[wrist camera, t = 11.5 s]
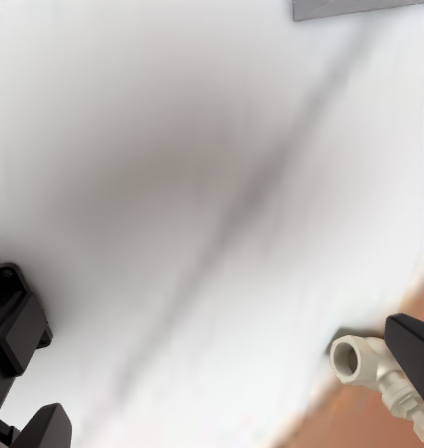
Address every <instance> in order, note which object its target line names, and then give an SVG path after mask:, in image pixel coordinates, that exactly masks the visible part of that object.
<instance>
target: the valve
mask: <svg viewBox="0 0 424 448" xmlns="http://www.w3.org/2000/svg"><path fill="white" fill-rule="evenodd" d="M330 365H331V368H332V370H333V371H334V373H335V374H336V376H337V377H338V379H339V380H340V381H341V382H342V383H343V384H348V385H356V386H359V385H362V386H364V387H365V388H368V389H370V390H372V391H376V392H380V393H381V394H382V402H383V404H384V405H385V406H386V407H387V409H388V410H389V411H390V413H391V414H392V415H393V416H395V417H399V418H400V417H403V418H404V419H405V420H409V421H413V422H414V427H413V430H414V432H415V433H416V434H417V435H418V437H419V438H420V439H421V441H422V442H423V443H424V401H423V399H422V398H421V397H420V395H419V394H418V392H417V391H416V389H415V388H414V386H413V385H412V383H411V382H410V380H409V379H408V377H407V376H406V374H405V373H404V371H403V370H402V368H401V367H400V365H399V364H398V362H397V361H396V359H395V358H394V356H393V355H392V353H391V352H390V350H389V349H388V347H387V346H386V344H385V341H384V340H383V339H380V338H375V337H365V338H363V337H357V336H352V335H347V336H344V337H341V338H338V339H336V340H335V341H333V343H332V347H331V351H330Z"/></svg>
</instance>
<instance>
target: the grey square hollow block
mask: <svg viewBox="0 0 424 448" xmlns="http://www.w3.org/2000/svg"><path fill="white" fill-rule="evenodd" d="M419 3H424V0H293V15H294V21H299V20H306V19H313V18H320V17H327V16H334V15H341V14H348V13H355V12H362V11H370V10H377V9H384V8H391V7H398V6H405V5H412V4H419Z"/></svg>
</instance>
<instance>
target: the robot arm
mask: <svg viewBox="0 0 424 448" xmlns="http://www.w3.org/2000/svg"><path fill="white" fill-rule="evenodd" d="M6 270H9V271H11V272H12V274H9V273H7V272H6ZM47 324H48V322H47V319H46V317H45V315H44V313H43V311H42V309H41V307H40V305H39V303H38V301H37V299H36V297H35V295H34V293H32V292H31V291H30V289H29V287H28V285H27V283H26V281H25V279H24V277H23V275H22V273H21V271H20V269H19V268H18V266H17V265H15V264H12V263H6V264H1V265H0V408H1V406H2V404H3V402H4V400H5V398H6V396H7V394H8V392H9V390H10V388H11V386H12V384H13V382H14V380H15V378H16V377H18V376H22V375H23V373H24V372H25V370H26V368H27V366H28V364H29V362H30V360H31V357H32V355H33V353H34V351H35V349H40V348H44V347H47V346H49V345H50V343H51V341H52V338H53V337H52V334H51V332H50V330H49V328H48V326H47ZM42 339H46V340H42ZM384 341H385V344H386V346H387V347H388V349H389V350H390V352H391V353H392V355H393V356H394V358H395V359H396V361H397V362H398V364H399V365H400V367H401V368H402V370H403V371H404V373H405V374H406V376H407V377H408V379H409V380H410V382H411V383H412V385H413V386H414V388H415V389H416V391H417V392H418V394H419V395H420V397H421V398H422V399H423V401H424V322H423V321H421V320H418V319H416V318H414V317H411V316H409V315H406V314H403V313H398V314H394V315H390V316H388V317H387V318H386V324H385V332H384ZM71 436H72V425H71V422H70V420H69V418H68V416H67V414H66V412H65V411H64V409H63V407H62V405H61V404H60V403H53V404H50V405H46V406H43V407H41V408H40V409H39V410H38V411H37V412H36V414H35V415H34V416H33V418H32V419H31V420H30V421H29V423H28V424H27V425H26V426H25V428H24V429H23V430H22V431H20V430H18V429H17V428H16V427H14V426H9V425H7V424H6V423H5V422H3V421H2V420H1V419H0V448H70V445H71Z"/></svg>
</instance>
